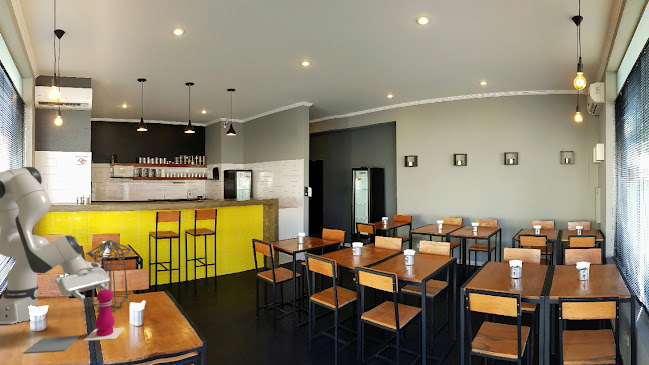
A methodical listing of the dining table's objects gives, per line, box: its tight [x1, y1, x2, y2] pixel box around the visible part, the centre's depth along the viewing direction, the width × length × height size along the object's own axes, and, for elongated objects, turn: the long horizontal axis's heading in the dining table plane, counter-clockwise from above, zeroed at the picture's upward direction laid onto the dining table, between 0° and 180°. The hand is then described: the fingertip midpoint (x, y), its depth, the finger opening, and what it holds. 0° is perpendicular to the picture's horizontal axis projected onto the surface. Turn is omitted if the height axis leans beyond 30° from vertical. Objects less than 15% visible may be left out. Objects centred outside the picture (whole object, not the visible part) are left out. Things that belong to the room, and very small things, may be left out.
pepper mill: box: [94, 285, 116, 336], centre depth 166 cm, size 7×7×20 cm
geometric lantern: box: [86, 239, 133, 314], centre depth 196 cm, size 16×16×35 cm
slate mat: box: [22, 335, 81, 354], centre depth 155 cm, size 14×14×1 cm
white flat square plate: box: [82, 327, 125, 342], centre depth 166 cm, size 12×12×1 cm
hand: (93, 296), depth 166 cm, fingers open, 8 cm apart
